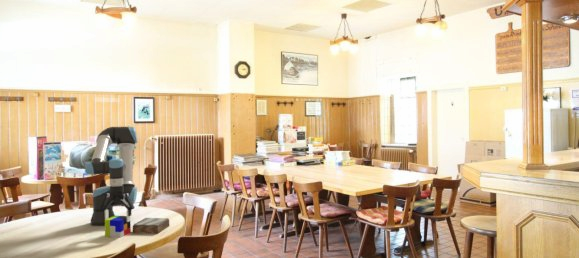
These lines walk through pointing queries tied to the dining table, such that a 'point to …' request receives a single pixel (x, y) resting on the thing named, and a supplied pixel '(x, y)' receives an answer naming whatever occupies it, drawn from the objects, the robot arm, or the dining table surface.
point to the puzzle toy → (117, 226)
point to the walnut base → (151, 225)
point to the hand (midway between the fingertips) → (117, 221)
